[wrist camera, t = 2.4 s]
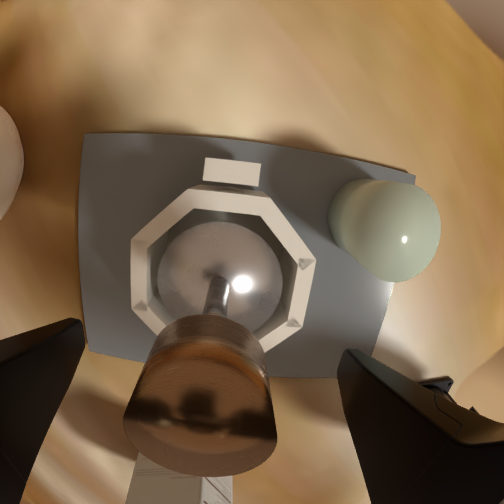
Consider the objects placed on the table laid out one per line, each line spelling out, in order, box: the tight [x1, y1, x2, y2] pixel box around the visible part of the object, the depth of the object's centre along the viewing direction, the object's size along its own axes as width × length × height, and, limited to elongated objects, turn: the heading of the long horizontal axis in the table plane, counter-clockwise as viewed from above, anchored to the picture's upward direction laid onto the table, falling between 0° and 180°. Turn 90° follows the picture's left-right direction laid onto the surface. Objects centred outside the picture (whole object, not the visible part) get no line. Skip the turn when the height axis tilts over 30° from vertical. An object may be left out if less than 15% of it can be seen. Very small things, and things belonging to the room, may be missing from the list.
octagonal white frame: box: [131, 158, 316, 353], centre depth 16 cm, size 8×10×5 cm
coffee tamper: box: [123, 220, 283, 477], centre depth 9 cm, size 6×6×9 cm
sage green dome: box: [328, 179, 441, 282], centre depth 15 cm, size 5×5×5 cm
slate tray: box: [78, 133, 416, 378], centre depth 19 cm, size 22×16×1 cm
